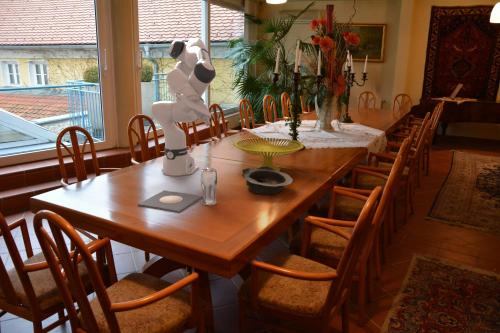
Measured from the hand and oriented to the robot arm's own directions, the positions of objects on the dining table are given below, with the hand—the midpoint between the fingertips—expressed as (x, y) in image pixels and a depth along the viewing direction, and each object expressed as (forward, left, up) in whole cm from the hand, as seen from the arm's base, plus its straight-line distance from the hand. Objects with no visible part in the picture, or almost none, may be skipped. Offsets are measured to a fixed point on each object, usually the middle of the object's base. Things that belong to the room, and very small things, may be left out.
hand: (202, 122), depth 169 cm
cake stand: (-59, +11, -35) cm, 69 cm away
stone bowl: (-24, +22, -35) cm, 47 cm away
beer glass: (+4, +5, -35) cm, 35 cm away
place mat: (+9, -11, -34) cm, 37 cm away
